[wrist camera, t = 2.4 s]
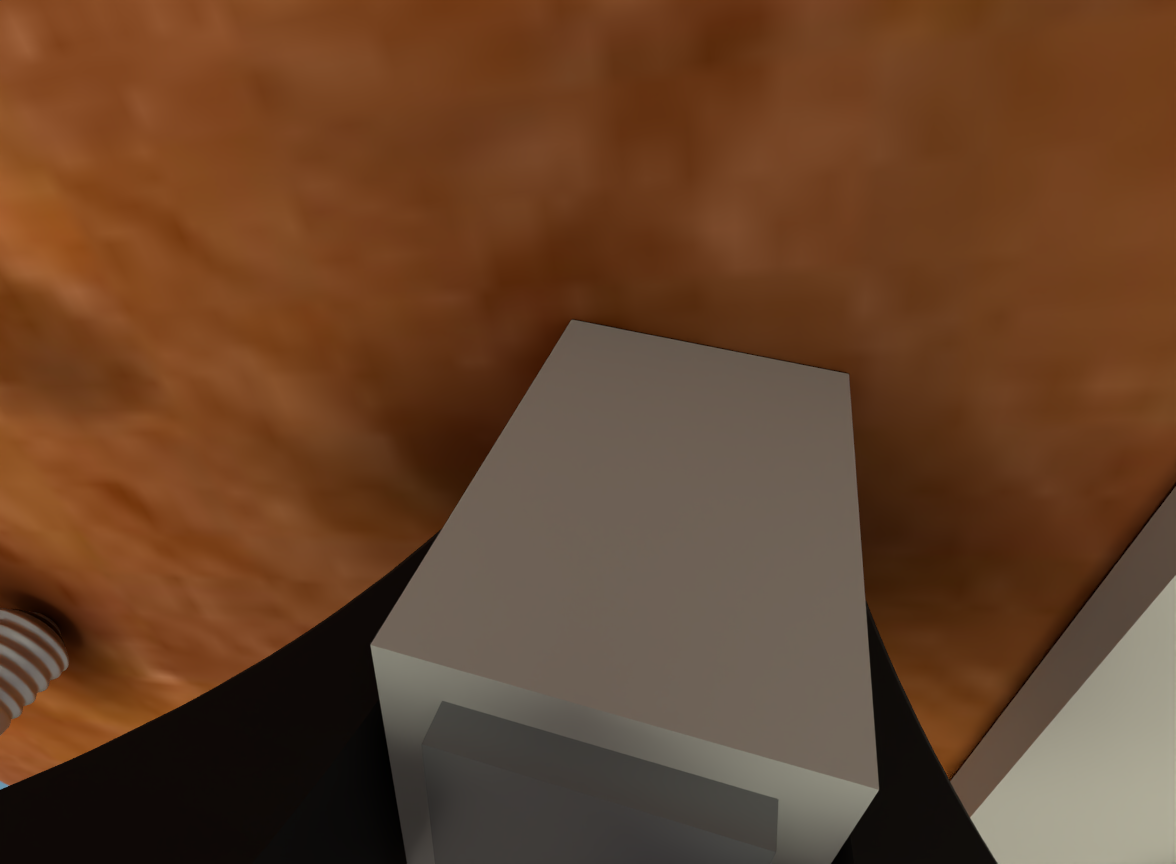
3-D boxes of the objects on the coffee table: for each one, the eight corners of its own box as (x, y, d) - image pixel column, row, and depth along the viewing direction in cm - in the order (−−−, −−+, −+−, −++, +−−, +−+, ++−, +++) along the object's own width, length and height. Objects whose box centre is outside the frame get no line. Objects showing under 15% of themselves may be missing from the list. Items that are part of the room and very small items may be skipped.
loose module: (754, 642, 13) (716, 1074, 8) (551, 590, 14) (403, 962, 9) (849, 373, 10) (881, 845, 5) (571, 319, 10) (344, 685, 5)
